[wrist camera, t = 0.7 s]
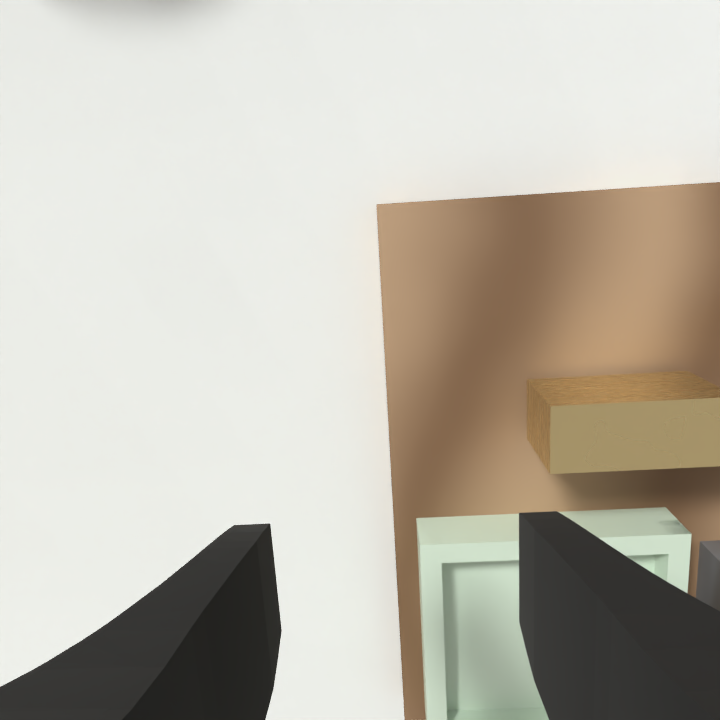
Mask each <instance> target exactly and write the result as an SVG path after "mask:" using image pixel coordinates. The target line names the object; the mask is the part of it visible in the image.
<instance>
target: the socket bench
mask: <svg viewBox="0 0 720 720" xmlns="http://www.w3.org/2000/svg"><path fill="white" fill-rule="evenodd" d="M377 221H378V239H379V257H380V276H381V294H382V312H383V331H384V349H385V367H386V386H387V404H388V422H389V441H390V459H391V477H392V496H393V514H394V532H395V551H396V569H397V587H398V606H399V624H400V642H401V661H402V679H403V697H404V716H405V720H426V714H425V699H424V677H423V655H422V632H421V610H420V588H419V566H418V544H417V522H416V518H430V517H453V516H476V515H499V514H519V513H527V512H550V511H557V512H567V511H590V510H613V509H636V508H659V507H666V508H667V509H668V510H669V511H670V512H671V513H672V514H673V515H674V516H675V517H676V518H677V519H678V520H679V521H680V522H681V523H682V525H683V526H684V527H685V528H686V529H687V530H688V531H689V532H690V533H691V534H692V535H691V550H690V564H689V579H688V594H690V595H691V596H693V597H695V598H697V599H698V600H700V601H702V602H704V603H705V604H707V605H709V606H711V607H713V608H715V609H717V610H719V611H720V466H716V467H694V468H672V469H651V470H629V471H608V472H586V473H564V474H550V473H549V472H548V470H547V469H546V467H545V466H544V464H543V463H542V461H541V460H540V458H539V457H538V455H537V454H536V452H535V451H534V449H533V448H532V446H531V445H530V443H529V441H528V440H527V379H542V378H561V377H580V376H599V375H618V374H637V373H656V372H675V371H689V372H691V373H693V374H695V375H697V376H699V377H700V378H702V379H704V380H706V381H708V382H710V383H712V384H714V385H716V386H718V387H720V182H716V183H701V184H685V185H670V186H655V187H639V188H624V189H608V190H593V191H577V192H562V193H546V194H531V195H516V196H500V197H485V198H469V199H454V200H438V201H423V202H407V203H392V204H377Z"/></svg>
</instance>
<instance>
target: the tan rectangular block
mask: <svg viewBox="0 0 720 720" xmlns="http://www.w3.org/2000/svg"><path fill="white" fill-rule="evenodd" d="M527 440H528V441H529V443H530V445H531V446H532V448H533V449H534V451H535V452H536V454H537V455H538V457H539V458H540V460H541V461H542V463H543V464H544V466H545V467H546V469H547V470H548V472H549V473H550V474H564V473H586V472H608V471H629V470H651V469H672V468H694V467H716V466H720V387H718V386H716V385H714V384H712V383H710V382H708V381H706V380H704V379H702V378H700V377H699V376H697V375H695V374H693V373H691V372H689V371H675V372H656V373H637V374H618V375H599V376H580V377H561V378H542V379H527Z"/></svg>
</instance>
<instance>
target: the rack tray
mask: <svg viewBox="0 0 720 720" xmlns="http://www.w3.org/2000/svg"><path fill="white" fill-rule="evenodd" d="M559 513H561V514H563V515H564V516H566V517H568V518H569V519H571V520H572V521H574V522H575V523H577V524H578V525H580V526H581V527H583V528H584V529H586V530H587V531H589V532H590V533H592V534H593V535H595V536H596V537H598V538H599V539H601V540H602V541H604V542H605V543H607V544H608V545H610V546H611V547H613V548H614V549H616V550H617V551H619V552H620V553H622V554H624V555H625V556H627V557H628V558H630V559H631V560H633V561H634V562H636V563H637V564H639V565H641V566H642V567H644V568H645V569H647V570H649V571H650V572H652V573H654V574H655V575H657V576H659V577H660V578H662V579H663V580H665V581H667V582H668V583H670V584H672V585H674V586H675V587H677V588H679V589H681V590H683V591H684V592H686V593H688V579H689V564H690V550H691V535H692V534H691V533H690V532H689V531H688V530H687V529H686V528H685V527H684V526H683V525H682V523H681V522H680V521H679V520H678V519H677V518H676V517H675V516H674V515H673V514H672V513H671V512H670V511H669V510H668V509H667V508H666V507H659V508H636V509H613V510H590V511H567V512H559ZM416 522H417V544H418V566H419V588H420V610H421V632H422V655H423V677H424V699H425V714H426V720H549V718H548V716H547V713H546V710H545V708H544V705H543V703H542V700H541V697H540V695H539V692H538V690H537V687H536V684H535V682H534V678H533V675H532V671H531V667H530V663H529V659H528V656H527V652H526V648H525V644H524V640H523V635H522V631H521V627H520V623H519V514H499V515H476V516H453V517H430V518H416Z"/></svg>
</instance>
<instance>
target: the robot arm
mask: <svg viewBox="0 0 720 720" xmlns="http://www.w3.org/2000/svg"><path fill="white" fill-rule="evenodd" d="M519 623H520V627H521V631H522V635H523V640H524V644H525V648H526V652H527V656H528V659H529V663H530V667H531V671H532V675H533V678H534V682H535V684H536V687H537V690H538V692H539V695H540V697H541V700H542V703H543V705H544V708H545V710H546V713H547V716H548V718H549V720H720V611H719V610H717V609H715V608H713V607H711V606H709V605H707V604H705V603H704V602H702V601H700V600H698V599H697V598H695V597H693V596H691V595H690V594H688V593H686V592H684V591H683V590H681V589H679V588H677V587H675V586H674V585H672V584H670V583H668V582H667V581H665V580H663V579H662V578H660V577H659V576H657V575H655V574H654V573H652V572H650V571H649V570H647V569H645V568H644V567H642V566H641V565H639V564H637V563H636V562H634V561H633V560H631V559H630V558H628V557H627V556H625V555H624V554H622V553H620V552H619V551H617V550H616V549H614V548H613V547H611V546H610V545H608V544H607V543H605V542H604V541H602V540H601V539H599V538H598V537H596V536H595V535H593V534H592V533H590V532H589V531H587V530H586V529H584V528H583V527H581V526H580V525H578V524H577V523H575V522H574V521H572V520H571V519H569V518H568V517H566V516H564V515H563V514H561V513H559V512H557V511H550V512H527V513H519ZM280 638H281V622H280V612H279V603H278V594H277V584H276V575H275V565H274V556H273V546H272V537H271V528H270V524H252V525H234V526H232V527H231V528H230V529H228V530H227V531H225V532H224V533H223V534H222V535H220V536H219V537H218V538H217V539H215V540H214V541H213V542H212V543H211V544H209V545H208V546H207V547H206V548H205V549H203V550H202V551H201V552H200V553H199V554H197V555H196V556H195V557H194V558H193V559H191V560H190V561H189V562H188V563H186V564H185V565H184V566H183V567H181V568H180V569H179V570H178V571H177V572H175V573H174V574H173V575H172V576H170V577H169V578H168V579H167V580H166V581H164V582H163V583H162V584H161V585H159V586H158V587H157V588H155V589H154V590H153V591H151V592H150V593H148V594H147V595H146V596H144V597H143V598H142V599H140V600H139V601H138V602H136V603H135V604H134V605H132V606H131V607H129V608H128V609H127V610H125V611H124V612H123V613H121V614H120V615H119V616H117V617H116V618H115V619H113V620H112V621H110V622H109V623H108V624H106V625H105V626H103V627H102V628H100V629H99V630H97V631H96V632H94V633H93V634H91V635H90V636H88V637H86V638H85V639H83V640H82V641H80V642H79V643H77V644H75V645H74V646H72V647H70V648H69V649H67V650H66V651H64V652H62V653H61V654H59V655H57V656H56V657H54V658H52V659H51V660H49V661H47V662H46V663H44V664H42V665H41V666H39V667H37V668H35V669H34V670H32V671H30V672H28V673H26V674H24V675H22V676H20V677H18V678H17V679H15V680H13V681H11V682H9V683H7V684H5V685H3V686H1V687H0V720H265V718H266V715H267V711H268V707H269V703H270V699H271V695H272V692H273V687H274V680H275V674H276V667H277V660H278V653H279V645H280Z"/></svg>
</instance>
